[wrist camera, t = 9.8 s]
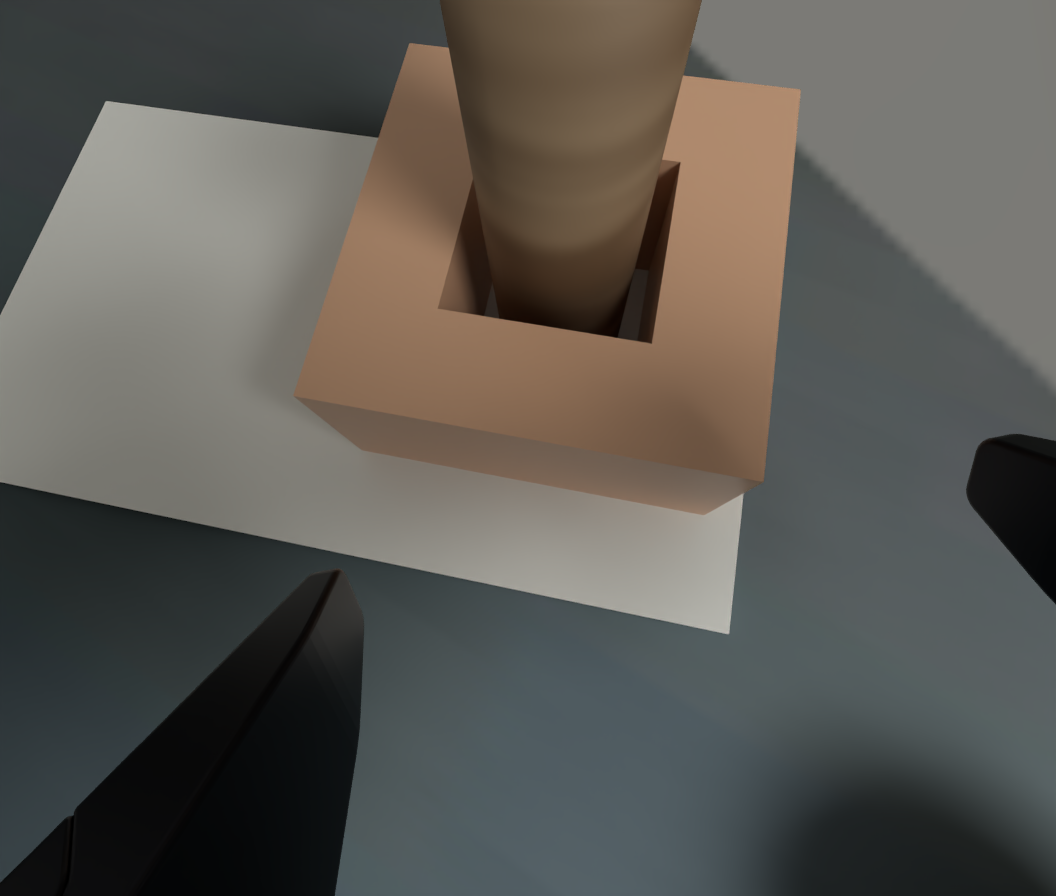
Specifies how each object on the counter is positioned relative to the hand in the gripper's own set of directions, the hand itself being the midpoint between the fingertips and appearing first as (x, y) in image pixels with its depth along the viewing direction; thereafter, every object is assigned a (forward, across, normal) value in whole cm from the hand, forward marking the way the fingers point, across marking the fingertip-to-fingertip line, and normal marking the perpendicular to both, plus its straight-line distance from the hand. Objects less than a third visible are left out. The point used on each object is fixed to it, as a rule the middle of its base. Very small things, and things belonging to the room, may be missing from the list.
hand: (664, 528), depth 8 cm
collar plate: (+12, +6, 0) cm, 13 cm away
